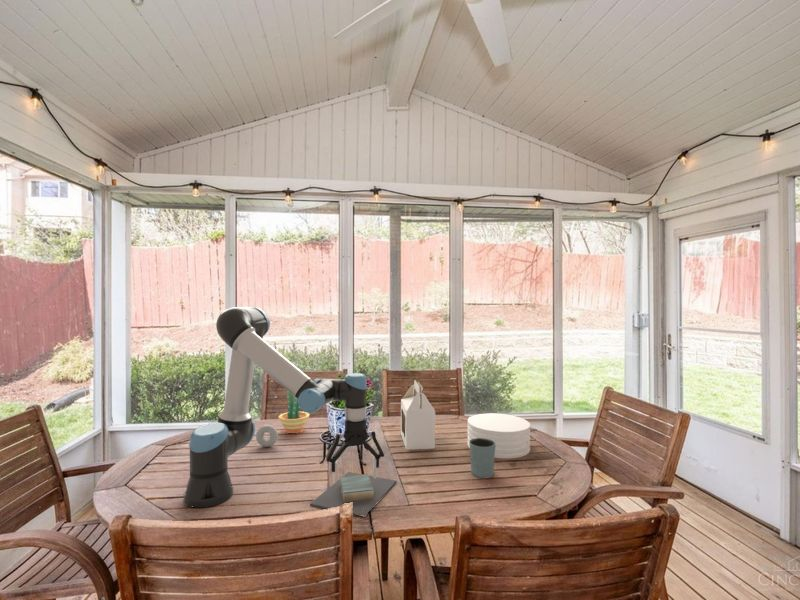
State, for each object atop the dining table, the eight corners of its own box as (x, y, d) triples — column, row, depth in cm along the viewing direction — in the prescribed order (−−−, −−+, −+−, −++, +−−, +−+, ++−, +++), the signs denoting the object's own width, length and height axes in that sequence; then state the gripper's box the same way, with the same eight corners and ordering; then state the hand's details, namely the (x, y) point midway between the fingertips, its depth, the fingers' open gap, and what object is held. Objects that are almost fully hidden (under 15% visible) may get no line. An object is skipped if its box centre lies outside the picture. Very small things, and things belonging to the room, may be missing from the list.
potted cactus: (314, 427, 210) (315, 380, 210) (299, 437, 195) (300, 386, 195) (288, 425, 214) (289, 378, 214) (272, 434, 199) (272, 384, 199)
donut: (279, 445, 184) (279, 423, 184) (276, 448, 181) (276, 426, 181) (257, 445, 184) (257, 423, 184) (254, 448, 181) (254, 426, 181)
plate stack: (456, 440, 193) (456, 416, 193) (505, 433, 203) (505, 411, 203) (489, 462, 167) (489, 434, 167) (543, 453, 176) (543, 427, 176)
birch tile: (340, 477, 144) (343, 492, 132) (367, 474, 146) (373, 489, 134) (340, 485, 144) (343, 501, 132) (367, 482, 146) (373, 498, 134)
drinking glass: (476, 480, 150) (476, 447, 150) (464, 469, 160) (464, 438, 160) (500, 476, 153) (500, 445, 153) (487, 466, 162) (487, 436, 162)
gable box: (435, 449, 181) (435, 387, 181) (406, 450, 179) (406, 387, 179) (426, 433, 203) (426, 377, 203) (400, 433, 202) (400, 378, 202)
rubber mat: (365, 517, 123) (365, 515, 123) (309, 505, 131) (309, 503, 131) (396, 482, 148) (396, 480, 148) (348, 473, 155) (348, 471, 155)
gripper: (388, 413, 148) (387, 470, 148) (319, 417, 142) (318, 477, 142) (392, 419, 140) (392, 479, 140) (320, 423, 134) (319, 487, 134)
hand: (355, 478), depth 141 cm, fingers open, 13 cm apart
